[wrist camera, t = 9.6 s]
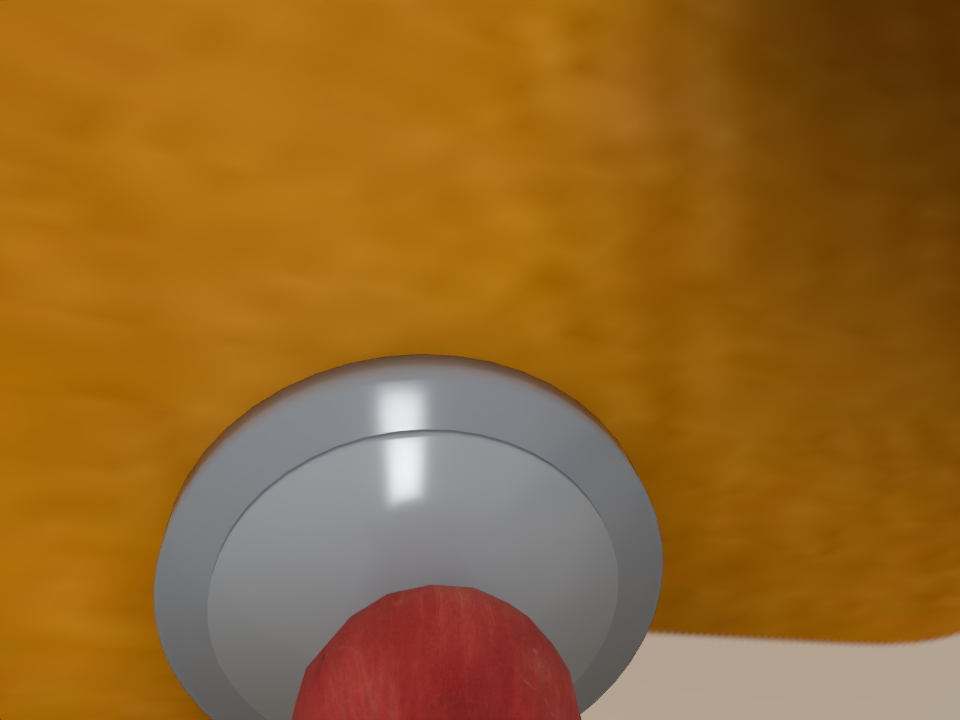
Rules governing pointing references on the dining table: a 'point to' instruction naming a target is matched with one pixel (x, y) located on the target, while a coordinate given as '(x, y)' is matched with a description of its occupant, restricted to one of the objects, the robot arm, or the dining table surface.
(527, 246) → the dining table surface
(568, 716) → the onion
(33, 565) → the dining table surface
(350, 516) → the plate
